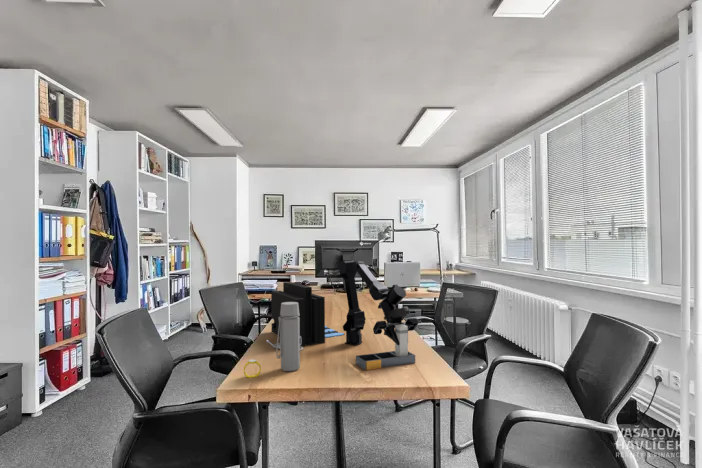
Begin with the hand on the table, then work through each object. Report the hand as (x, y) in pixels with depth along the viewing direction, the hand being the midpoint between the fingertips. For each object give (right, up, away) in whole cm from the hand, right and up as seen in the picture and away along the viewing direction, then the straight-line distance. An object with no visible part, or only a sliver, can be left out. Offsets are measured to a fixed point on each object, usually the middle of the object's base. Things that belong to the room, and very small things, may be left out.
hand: (403, 344), depth 153 cm
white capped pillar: (0, -7, +1) cm, 7 cm away
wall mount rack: (-50, -8, +20) cm, 55 cm away
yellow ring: (-56, -8, -14) cm, 58 cm away
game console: (-41, -9, +47) cm, 63 cm away
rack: (-7, -8, -1) cm, 10 cm away
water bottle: (-45, -8, -6) cm, 46 cm away
